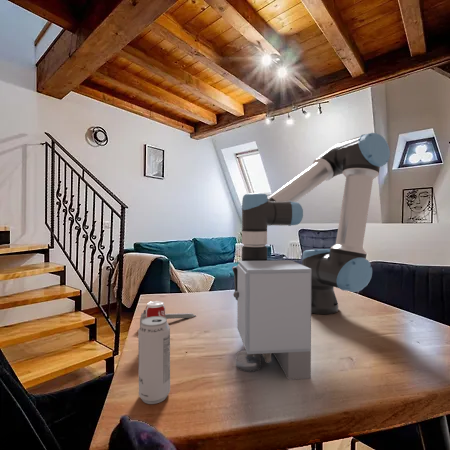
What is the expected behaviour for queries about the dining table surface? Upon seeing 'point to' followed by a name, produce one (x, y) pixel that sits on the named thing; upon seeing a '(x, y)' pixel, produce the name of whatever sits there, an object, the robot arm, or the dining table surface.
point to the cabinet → (276, 312)
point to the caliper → (169, 316)
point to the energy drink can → (154, 359)
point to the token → (248, 361)
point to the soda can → (155, 309)
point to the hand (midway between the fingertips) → (254, 322)
